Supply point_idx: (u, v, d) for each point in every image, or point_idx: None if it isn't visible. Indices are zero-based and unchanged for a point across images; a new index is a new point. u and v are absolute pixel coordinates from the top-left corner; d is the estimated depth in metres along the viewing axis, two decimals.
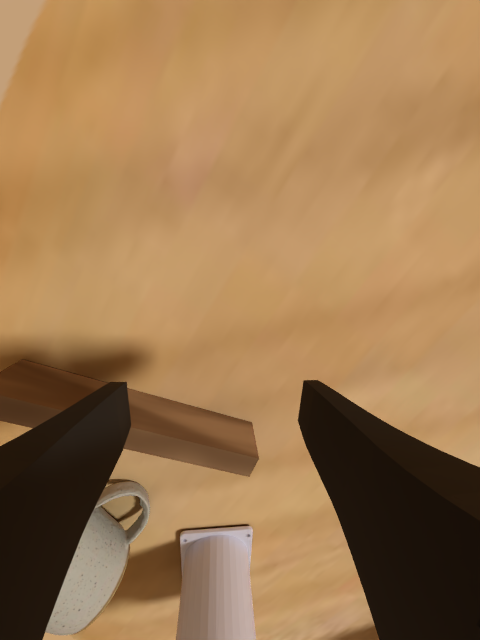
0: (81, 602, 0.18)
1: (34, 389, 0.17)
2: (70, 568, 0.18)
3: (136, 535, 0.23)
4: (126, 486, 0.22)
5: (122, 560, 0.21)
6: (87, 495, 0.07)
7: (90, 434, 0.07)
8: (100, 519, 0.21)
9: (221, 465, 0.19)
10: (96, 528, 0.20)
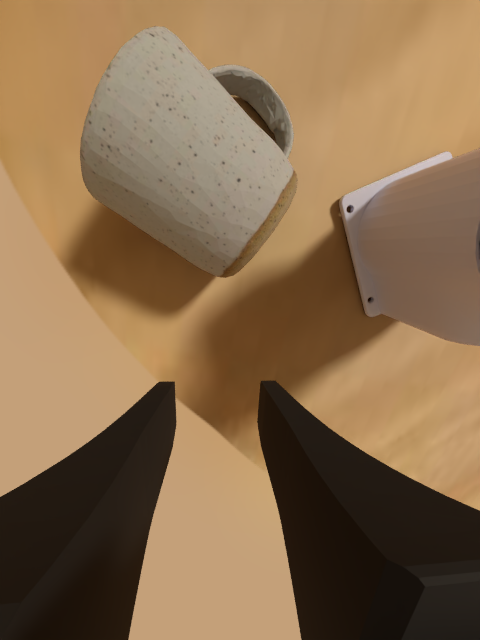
0: (251, 140, 0.09)
1: None
2: (207, 72, 0.09)
3: (286, 154, 0.13)
4: None
5: None
6: (152, 492, 0.07)
7: (155, 432, 0.07)
8: None
9: None
10: None
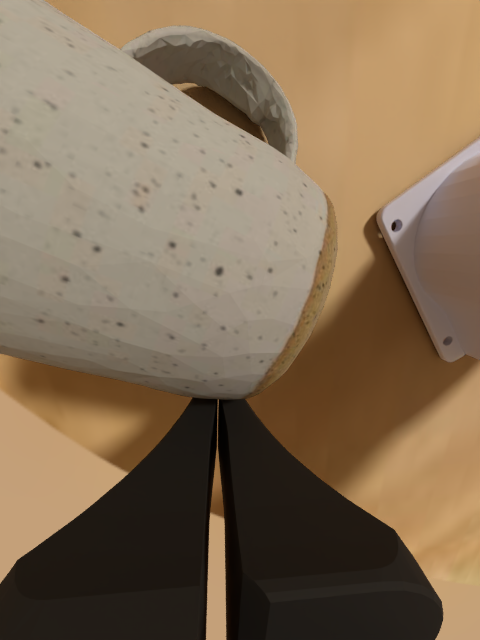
0: (227, 166, 0.04)
1: None
2: (87, 37, 0.04)
3: (290, 157, 0.08)
4: None
5: None
6: (210, 488, 0.07)
7: (213, 430, 0.07)
8: None
9: None
10: None
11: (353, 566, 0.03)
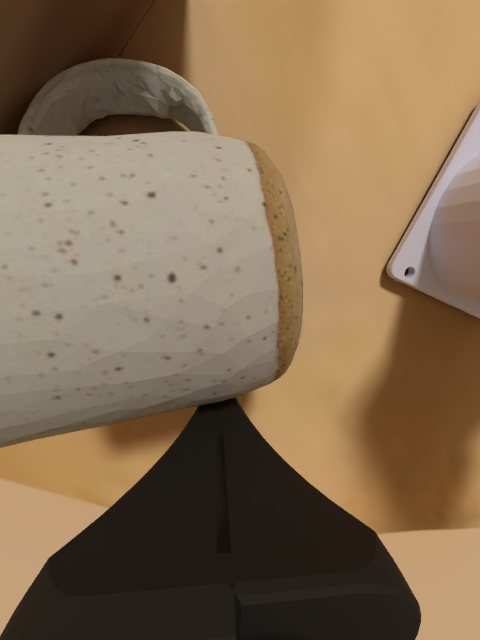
0: (131, 177, 0.04)
1: None
2: None
3: (210, 128, 0.07)
4: None
5: None
6: None
7: None
8: None
9: None
10: None
11: (329, 569, 0.03)
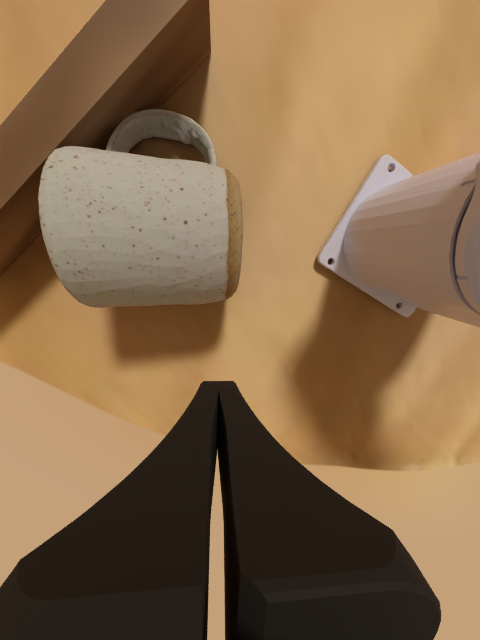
0: (174, 181, 0.10)
1: None
2: (106, 156, 0.10)
3: (212, 156, 0.13)
4: None
5: None
6: (211, 488, 0.07)
7: (213, 430, 0.07)
8: None
9: (154, 15, 0.10)
10: None
11: (351, 567, 0.03)
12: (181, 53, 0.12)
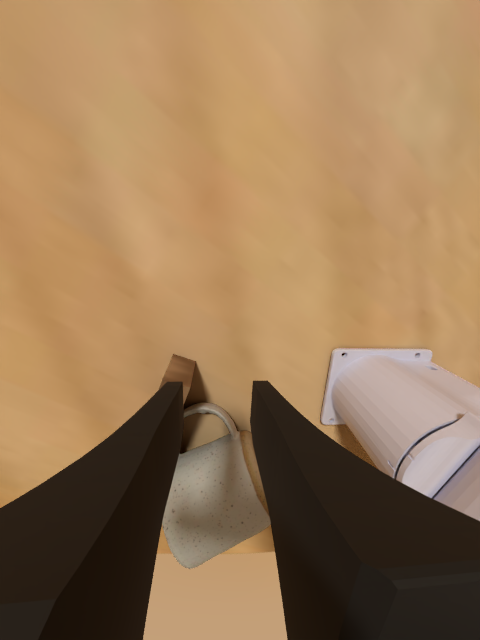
0: (225, 501, 0.17)
1: None
2: (185, 499, 0.17)
3: (228, 426, 0.20)
4: None
5: (235, 448, 0.19)
6: (163, 491, 0.07)
7: (166, 432, 0.07)
8: (192, 453, 0.20)
9: None
10: (188, 461, 0.19)
11: (464, 557, 0.03)
12: None
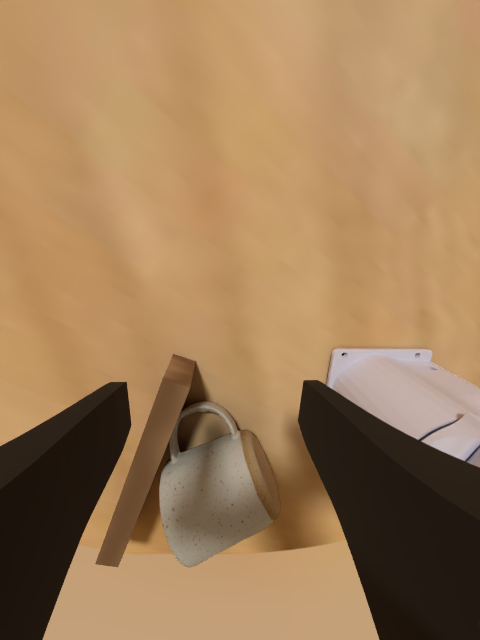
0: (226, 500, 0.17)
1: None
2: (185, 497, 0.17)
3: (229, 425, 0.20)
4: None
5: (235, 447, 0.19)
6: (87, 495, 0.07)
7: (90, 434, 0.07)
8: (192, 452, 0.20)
9: (172, 415, 0.17)
10: (189, 460, 0.19)
11: None
12: None
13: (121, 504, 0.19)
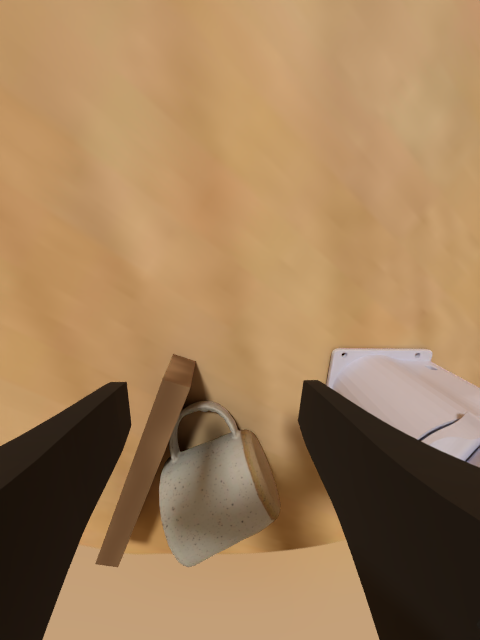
0: (226, 500, 0.17)
1: None
2: (185, 497, 0.17)
3: (229, 425, 0.20)
4: None
5: (236, 447, 0.19)
6: (87, 495, 0.07)
7: (90, 434, 0.07)
8: (192, 451, 0.20)
9: (172, 415, 0.17)
10: (189, 459, 0.19)
11: None
12: None
13: (121, 504, 0.19)
